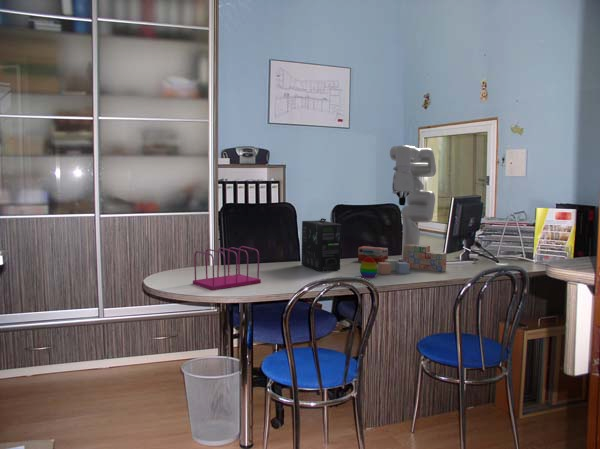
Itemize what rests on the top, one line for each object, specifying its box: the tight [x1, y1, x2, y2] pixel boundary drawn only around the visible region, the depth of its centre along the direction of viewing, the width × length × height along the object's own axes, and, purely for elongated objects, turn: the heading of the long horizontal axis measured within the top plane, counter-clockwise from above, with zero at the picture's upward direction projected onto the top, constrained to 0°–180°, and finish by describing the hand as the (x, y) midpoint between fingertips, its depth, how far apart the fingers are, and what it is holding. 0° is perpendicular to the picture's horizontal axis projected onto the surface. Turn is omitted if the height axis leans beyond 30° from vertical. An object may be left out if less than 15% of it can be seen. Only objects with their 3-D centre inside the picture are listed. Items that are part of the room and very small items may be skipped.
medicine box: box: [357, 245, 389, 264], centre depth 305 cm, size 15×8×8 cm, turn 58°
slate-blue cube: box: [395, 261, 410, 275], centre depth 267 cm, size 5×5×5 cm
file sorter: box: [192, 245, 262, 291], centre depth 240 cm, size 17×25×16 cm
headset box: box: [300, 217, 342, 273], centre depth 282 cm, size 22×12×26 cm, turn 26°
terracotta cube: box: [377, 262, 392, 275], centre depth 266 cm, size 5×5×5 cm
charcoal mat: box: [376, 268, 411, 276], centre depth 271 cm, size 16×17×1 cm
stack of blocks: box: [402, 244, 448, 273], centre depth 280 cm, size 21×6×12 cm, turn 54°
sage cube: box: [385, 258, 399, 271], centre depth 275 cm, size 5×5×5 cm
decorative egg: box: [359, 257, 378, 279], centre depth 256 cm, size 8×8×10 cm
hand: (402, 205), depth 280 cm, fingers closed
